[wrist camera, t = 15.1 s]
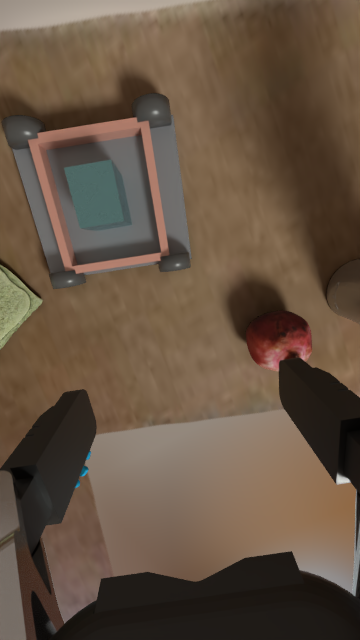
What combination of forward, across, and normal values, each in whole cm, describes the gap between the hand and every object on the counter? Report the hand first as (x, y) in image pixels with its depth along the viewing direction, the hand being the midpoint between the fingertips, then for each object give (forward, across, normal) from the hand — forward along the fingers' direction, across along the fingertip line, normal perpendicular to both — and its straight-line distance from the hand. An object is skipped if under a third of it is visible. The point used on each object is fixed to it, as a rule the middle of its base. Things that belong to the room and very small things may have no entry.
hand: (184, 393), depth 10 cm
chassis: (+28, +7, -12) cm, 31 cm away
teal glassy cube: (+27, +7, -12) cm, 30 cm away
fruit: (+28, -14, +10) cm, 33 cm away
